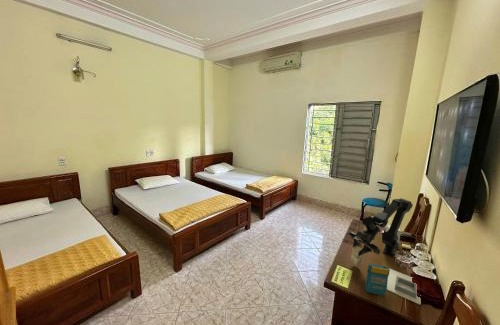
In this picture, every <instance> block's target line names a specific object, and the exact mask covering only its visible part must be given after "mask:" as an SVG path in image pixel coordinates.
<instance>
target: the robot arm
mask: <svg viewBox="0 0 500 325" xmlns="http://www.w3.org/2000/svg"><path fill="white" fill-rule="evenodd" d="M413 206H414V205H413V203H412V202H411V201H410V200H407V199H405V198H400V197H399V198H393V199H392V200H391V202H390V204H388V205H387V206H386V207H385V208H384V209H383V210H382V212H378V213H376V214H375V215H374V216H373V215H372V216H371V215H369V216H368V217H364V218H362V220H361V222H362V224H363V226H364V227H365V228H366V229H365V230H362V231H361V230H357V232H356V233H355V232H353V231H350V232H349V233H348V236H349V237H350V238H351V239H352V240H353V245H352V248H353V247H355V246H358V247H360V245H361V243H362V244H363V247H362V248H361V249H362V250H361V251H360V253H359V254H358V255H359V256H360V255H362V256H363V255H365V254H367V253H369V252H371V253H372V252H373V253H375V254H376V255H380V253H381V250H380V248H379V246H377V245H375V244H374V243H372V241H374V240H375V237H376V236H377V235H378V234H379V233H381V228H383V229H384V228H385V227H387V225H388V224H389V218H391V217H392V216H393V215H394V216H393V219H392V221H391V223H390V225H391V226H390V228H389V230H388V231H387V232H386V231H384V232H383V235H382V236H381V243H383V244H384V248H383V251H382V254H384V255H387V256H389V257H393V258H395V250H399V248H400V242H399V243H398V242H397V241H398V236H397V232H398V230H399V229H400V227H401V225H402V222H403V220H404V218H405V215H406V214H407V213H408V212H410V211H411V209H412V208H413Z"/></svg>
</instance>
